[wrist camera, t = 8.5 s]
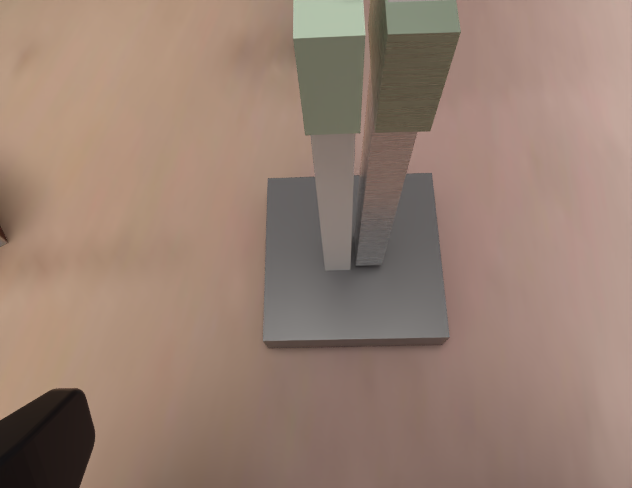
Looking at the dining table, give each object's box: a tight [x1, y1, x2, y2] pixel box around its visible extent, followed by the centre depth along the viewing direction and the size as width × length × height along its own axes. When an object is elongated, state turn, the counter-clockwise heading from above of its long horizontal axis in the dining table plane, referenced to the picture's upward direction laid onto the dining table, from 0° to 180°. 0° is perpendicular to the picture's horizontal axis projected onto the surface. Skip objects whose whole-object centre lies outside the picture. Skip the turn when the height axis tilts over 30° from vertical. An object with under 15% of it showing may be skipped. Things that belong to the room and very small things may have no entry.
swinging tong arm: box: [354, 0, 461, 266], centre depth 14 cm, size 3×1×12 cm, turn 1°
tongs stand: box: [263, 0, 449, 348], centre depth 15 cm, size 7×7×14 cm
